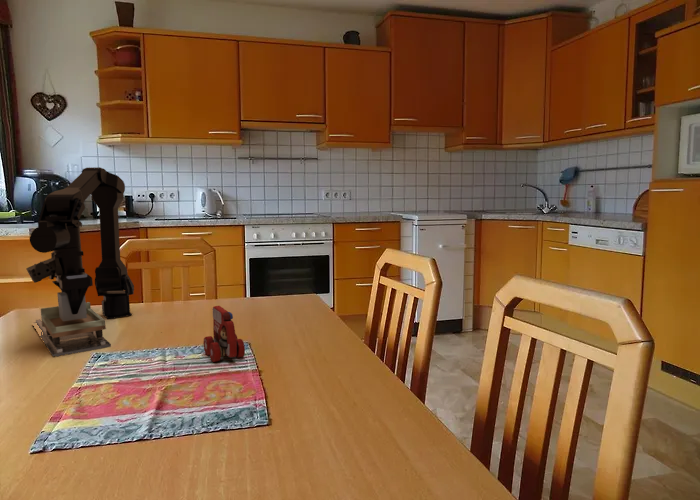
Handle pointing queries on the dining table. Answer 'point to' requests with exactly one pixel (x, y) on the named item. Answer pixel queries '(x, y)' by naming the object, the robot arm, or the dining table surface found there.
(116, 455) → the dining table surface
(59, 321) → the cart
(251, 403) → the dining table surface
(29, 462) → the dining table surface
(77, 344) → the track
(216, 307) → the toy fire truck
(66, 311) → the part block
